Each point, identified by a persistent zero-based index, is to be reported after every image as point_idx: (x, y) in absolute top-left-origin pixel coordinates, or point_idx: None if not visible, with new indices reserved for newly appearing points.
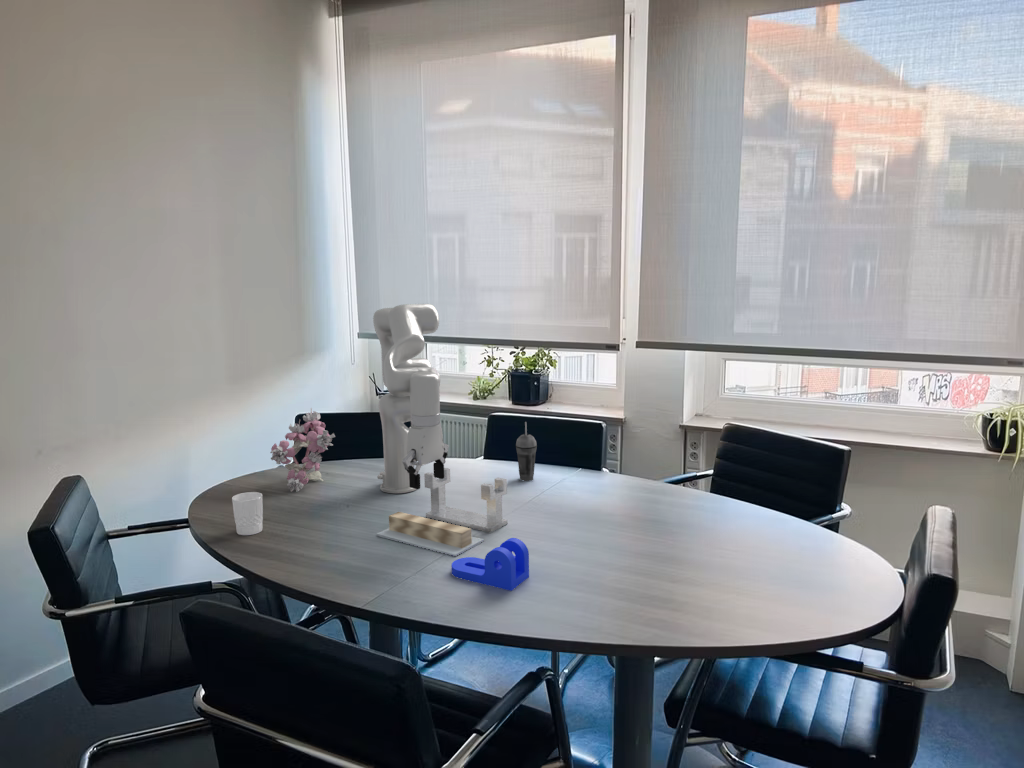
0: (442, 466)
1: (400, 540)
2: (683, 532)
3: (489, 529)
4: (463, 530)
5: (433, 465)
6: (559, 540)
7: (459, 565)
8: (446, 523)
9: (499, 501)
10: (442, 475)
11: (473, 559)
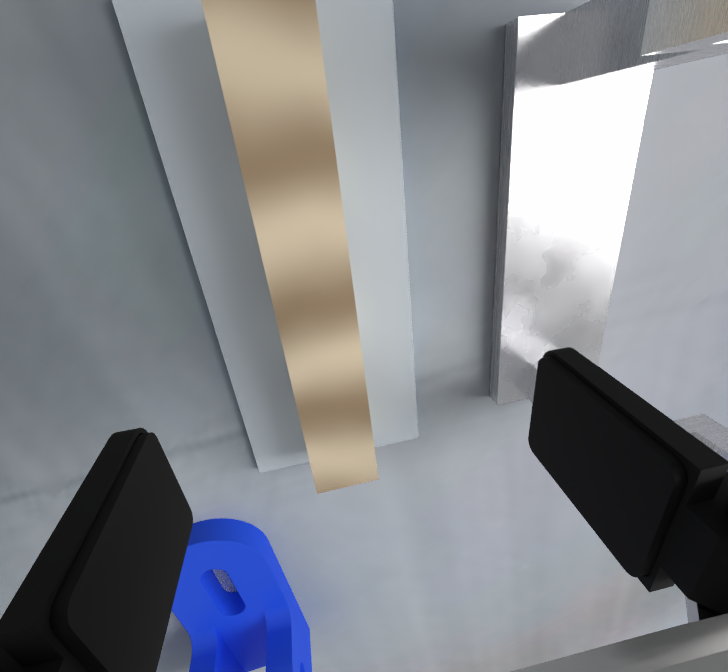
0: (630, 566)
1: (178, 209)
2: (666, 618)
3: (495, 397)
4: (344, 476)
5: (651, 449)
6: (530, 536)
7: (184, 571)
8: (358, 378)
9: None
10: (553, 468)
11: (248, 563)
